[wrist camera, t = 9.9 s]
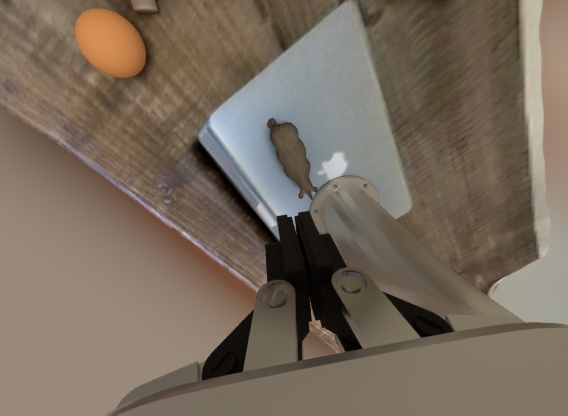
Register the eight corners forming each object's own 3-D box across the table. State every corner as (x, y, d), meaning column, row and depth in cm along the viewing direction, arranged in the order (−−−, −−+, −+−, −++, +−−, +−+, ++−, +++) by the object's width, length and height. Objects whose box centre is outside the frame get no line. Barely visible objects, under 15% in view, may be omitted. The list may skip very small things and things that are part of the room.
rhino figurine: (296, 198, 39) (303, 215, 34) (261, 122, 33) (264, 129, 27) (317, 188, 39) (328, 204, 34) (287, 109, 32) (295, 114, 27)
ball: (116, -15, 21) (160, 54, 24) (120, 19, 26) (156, 72, 29) (48, 4, 19) (105, 77, 22) (66, 37, 24) (110, 93, 27)
